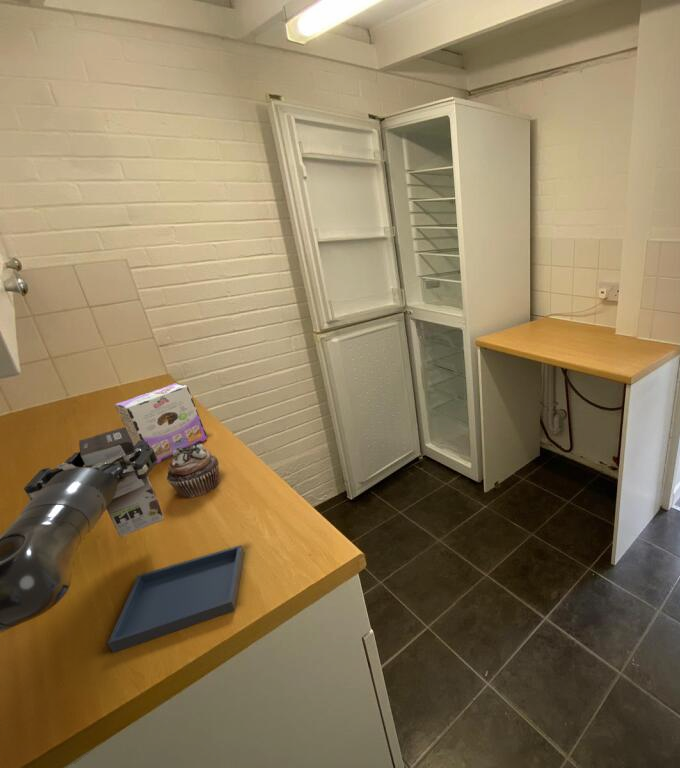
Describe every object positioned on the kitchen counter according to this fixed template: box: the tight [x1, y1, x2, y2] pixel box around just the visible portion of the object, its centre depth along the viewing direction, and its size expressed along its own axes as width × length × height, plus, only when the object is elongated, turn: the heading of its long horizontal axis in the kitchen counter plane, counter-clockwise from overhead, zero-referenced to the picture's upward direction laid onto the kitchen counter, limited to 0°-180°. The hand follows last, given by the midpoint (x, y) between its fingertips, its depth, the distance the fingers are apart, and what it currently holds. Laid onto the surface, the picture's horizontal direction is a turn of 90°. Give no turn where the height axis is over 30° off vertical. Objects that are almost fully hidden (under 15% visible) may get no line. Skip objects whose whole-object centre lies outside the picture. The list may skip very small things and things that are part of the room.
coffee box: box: [78, 426, 165, 538], centre depth 73 cm, size 9×6×16 cm
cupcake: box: [166, 443, 221, 499], centre depth 94 cm, size 10×10×10 cm
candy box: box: [114, 382, 209, 465], centre depth 108 cm, size 14×6×16 cm, turn 155°
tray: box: [107, 544, 245, 653], centre depth 68 cm, size 15×13×2 cm
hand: (113, 450), depth 71 cm, fingers closed on coffee box, 8 cm apart
